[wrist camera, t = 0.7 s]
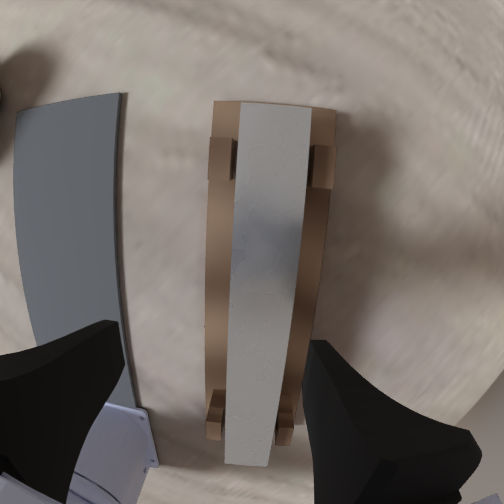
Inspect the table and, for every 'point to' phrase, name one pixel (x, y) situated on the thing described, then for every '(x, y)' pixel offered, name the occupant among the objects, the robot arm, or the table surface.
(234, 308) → the steel rail
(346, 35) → the table surface
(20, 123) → the rubber mat
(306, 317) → the walnut standards
